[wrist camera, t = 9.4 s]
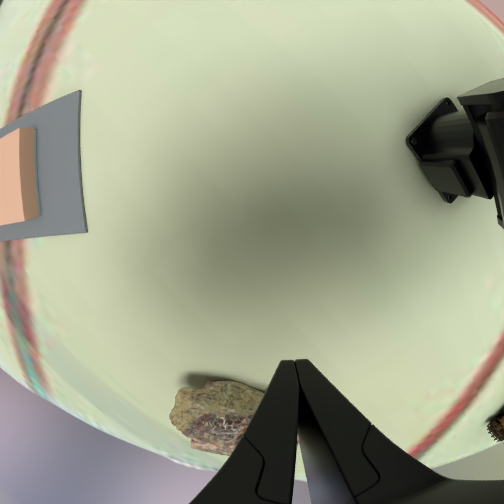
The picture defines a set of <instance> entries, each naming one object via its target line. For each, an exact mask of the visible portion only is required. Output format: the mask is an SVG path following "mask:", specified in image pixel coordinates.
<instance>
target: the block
mask: <svg viewBox="0 0 504 504" xmlns="http://www.w3.org/2000/svg"><path fill="white" fill-rule="evenodd" d="M36 132H37V130H34V128H18V129H16V130H15V131H13V132H11V133H9V134H7V135H6V136H4V137H2V138H0V226H1V225H6V224H11V223H17V222H22V221H26V220H29V219H32V218H35V217H38V216H39V215H40V214H41V209H40V200H39V191H38V178H37V156H36Z"/></svg>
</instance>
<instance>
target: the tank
mask: <svg viewBox="0 0 504 504" xmlns="http://www.w3.org/2000/svg"><path fill="white" fill-rule="evenodd" d="M500 416H501V415H500ZM489 425H490V427H489ZM487 427H488V429H487V430H489V432H488V433H490V434H492V433H493V435H492V436H491V437H494V436H495V437H496V438H495V437H494V438H495V439H494V441H495V440H498V439H499V440H498V441H499V442H500V441H503V440H504V415H503V416H501V417H500V418H499V417H498V415H497V416H496V417H495V418H494V419H493V420H492V421H491V422H490V423H489V424H488V425H487ZM491 432H492V433H491ZM498 441H497V442H498Z"/></svg>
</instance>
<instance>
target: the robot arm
mask: <svg viewBox="0 0 504 504" xmlns="http://www.w3.org/2000/svg"><path fill="white" fill-rule="evenodd" d="M457 98H458V100H459V102H460V104H461V105H463V107H464V110H463V111H458V110H457V108H456V107H455V105H454V104H453V102H452V101H451V100H450V99H449V98H443V99H442V100H441V101H440V102H439V103H438V104H437V105H436V106H435V107H434V109H433V110H432V111H431V112H430V113H429V114H428V115H427V116H426V117H425V118H424V119H423V120H422V121H421V123H420V124H419V125H418V126H417V127H416V128H415V129H414V130H413V131H412V132H411V133H410V134H409V135H408V136H407V138H406V142H407V145H408V146H409V148H410V149H411V150H412V152H413V153H414V154H415V156H416V157H417V159H418V160H419V161H420V165H421V168H422V169H423V170H424V172H425V173H426V175H427V177H428V178H429V180H430V181H431V183H432V184H433V186H434V187H435V189H436V190H437V191H439V192H440V194H441V196H442V197H443V199H444V201H445V202H447V203H452V202H453V201H454V200H455V199H456V198H457V196H458V195H459V196H464V197H471V195H475V196H479V197H483V198H487V199H492V197H493V196H494V199H495V203H496V208H497V213H498V215H497V219H498V224H499V225H500V226H501V227H502V228H503V229H504V78H502V79H498V80H494V81H491V82H488V83H486V84H484V85H482V86H479V87H477V88H475V89H473V90H471V91H469V92H466V93H464V94H462V95H460V96H458V97H457ZM446 102H447V103H448V105H447V104H446ZM412 139H414V144H413V143H412ZM449 195H450V198H449V199H448V196H449ZM297 435H298V438H299V443H300V448H301V453H302V458H303V463H304V468H305V473H306V477H307V482H308V487H309V492H310V497H311V502H312V504H504V480H487V481H486V480H483V481H481V480H456V479H451V478H447V477H444V476H442V475H440V474H438V473H436V472H434V471H433V470H431V469H430V468H428V467H427V466H425V465H424V464H422V463H421V462H419V461H418V460H416V459H415V458H414V457H412V456H411V455H409V454H408V453H406V452H405V451H404V450H402V449H401V448H400V447H398V446H397V445H396V444H394V443H393V442H392V441H391V440H390V439H388V438H387V437H386V436H385V435H384V434H383V433H382V432H381V431H379V430H378V429H377V428H376V427H375V426H374V425H373V424H372V425H371V422H370V421H369V420H368V419H367V418H366V417H365V416H364V415H363V414H362V413H361V412H360V411H359V410H358V409H357V408H356V407H355V406H354V405H353V404H352V403H351V402H350V401H349V400H348V399H347V398H346V397H345V396H344V395H343V394H342V393H341V392H340V391H339V390H338V389H337V388H336V387H335V386H334V385H333V384H332V383H331V382H330V381H329V380H328V379H327V378H326V377H325V376H324V375H323V374H322V373H321V372H320V371H319V370H318V369H317V368H316V367H315V366H314V365H313V364H312V363H311V362H310V361H309V360H308V359H297V360H295V361H294V360H282V361H280V363H279V365H278V367H277V369H276V371H275V373H274V375H273V377H272V379H271V382H270V384H269V386H268V388H267V390H266V392H265V394H264V395H263V397H262V399H261V401H260V403H259V405H258V407H257V409H256V411H255V413H254V415H253V417H252V418H251V420H250V422H249V424H248V426H247V428H246V430H245V431H244V433H243V435H242V436H243V437H241V438H240V440H239V442H238V443H237V445H236V447H235V449H234V450H233V452H232V453H231V455H230V456H229V458H228V459H227V461H226V462H225V463H224V465H223V466H222V467H221V469H220V470H219V471H218V472H217V474H216V475H215V476H214V477H213V478H212V479H211V481H210V482H209V483H208V484H207V485H206V486H205V487H204V488H203V489H202V490H201V492H200V493H199V494H198V495H197V496H196V497H195V498H194V499H193V500H192V501H191V502H190V503H189V504H292V496H293V486H294V475H295V463H296V450H297Z"/></svg>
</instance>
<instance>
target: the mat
mask: <svg viewBox="0 0 504 504" xmlns="http://www.w3.org/2000/svg"><path fill="white" fill-rule="evenodd" d="M80 103H81V90H78V91H75V92H73V93H70V94H68V95H66V96H63V97H61V98H59V99H56V100H54V101H52V102H50V103H48V104H46V105H43V106H41V107H39V108H37V109H35V110H33V111H31V112H30V113H28V114H26V115H24V116H22V117H20V118H18V119H17V120H15V121H13V122H11V123H10V124H8V125H6V126H5V127H3V128H1V129H0V138H2V137H4V136H6V135H7V134H9V133H11V132H13V131H15V130H16V129H18V128H34V130H37V132H36V156H37V178H38V191H39V200H40V209H41V214H40V215H39V216H38V217H35V218H32V219H29V220H26V221H22V222H17V223H11V224H6V225H1V226H0V241H7V240H16V239H25V238H35V237H45V236H55V235H66V234H78V233H87V232H88V231H87V224H86V217H85V209H84V201H83V191H82V179H81V163H80Z"/></svg>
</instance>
